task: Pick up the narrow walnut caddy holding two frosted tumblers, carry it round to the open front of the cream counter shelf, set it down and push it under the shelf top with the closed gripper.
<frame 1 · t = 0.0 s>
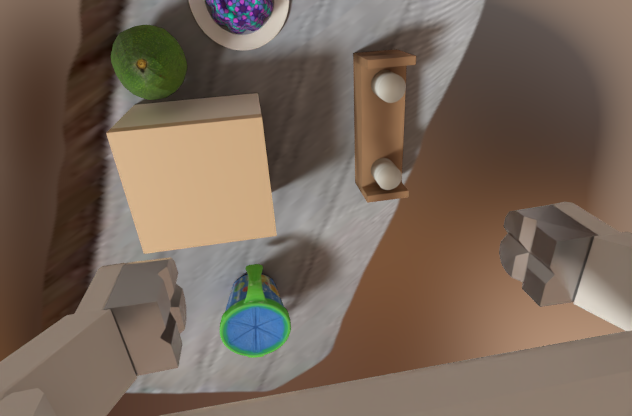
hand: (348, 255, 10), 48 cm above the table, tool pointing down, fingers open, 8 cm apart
caddy: (374, 120, 59), on the table
avocado: (158, 57, 51), on the table
counter: (209, 152, 57), on the table
snack cup: (254, 287, 69), on the table
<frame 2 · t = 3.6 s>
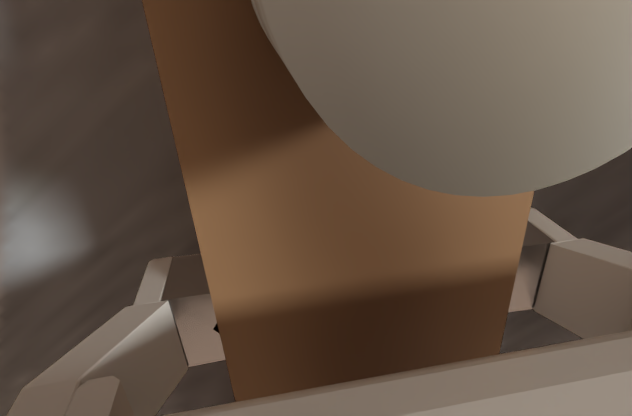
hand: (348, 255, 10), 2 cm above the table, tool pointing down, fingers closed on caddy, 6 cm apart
caddy: (333, 217, 12), on the table, touching gripper
when the fingers open (3 cm above the table, at t = 8.3 s): caddy drops 1 cm, on the table.
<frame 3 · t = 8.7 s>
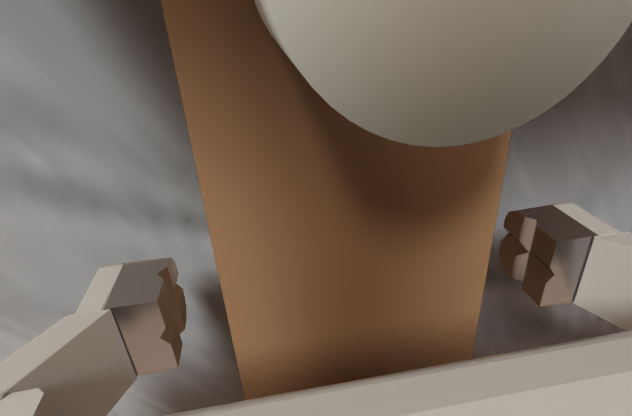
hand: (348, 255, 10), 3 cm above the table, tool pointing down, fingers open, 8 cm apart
caddy: (327, 200, 12), on the table
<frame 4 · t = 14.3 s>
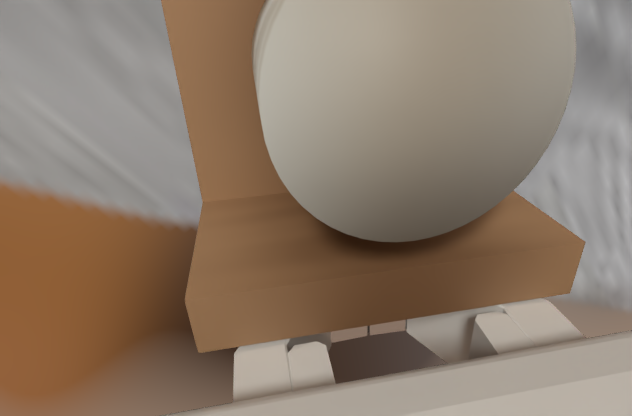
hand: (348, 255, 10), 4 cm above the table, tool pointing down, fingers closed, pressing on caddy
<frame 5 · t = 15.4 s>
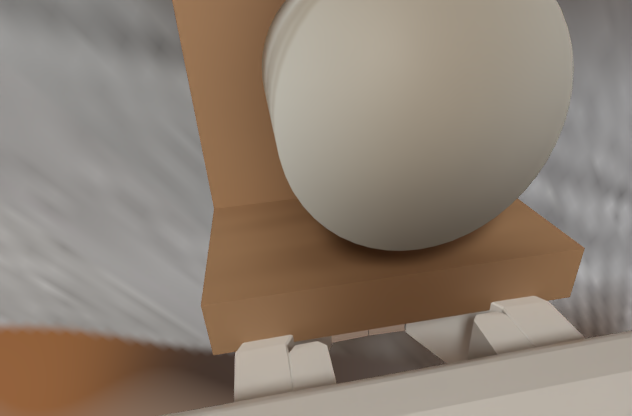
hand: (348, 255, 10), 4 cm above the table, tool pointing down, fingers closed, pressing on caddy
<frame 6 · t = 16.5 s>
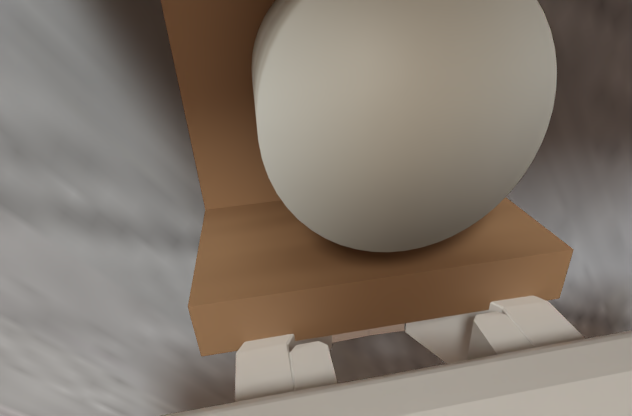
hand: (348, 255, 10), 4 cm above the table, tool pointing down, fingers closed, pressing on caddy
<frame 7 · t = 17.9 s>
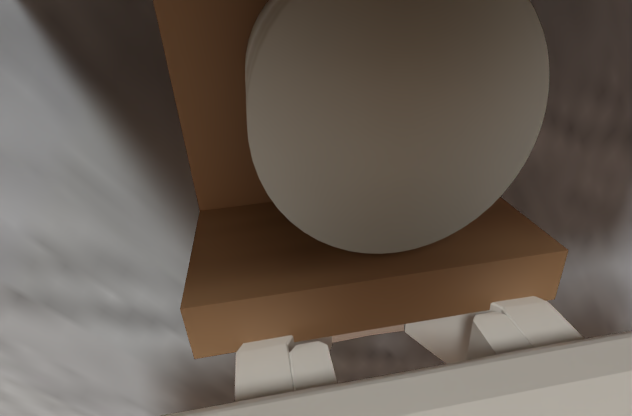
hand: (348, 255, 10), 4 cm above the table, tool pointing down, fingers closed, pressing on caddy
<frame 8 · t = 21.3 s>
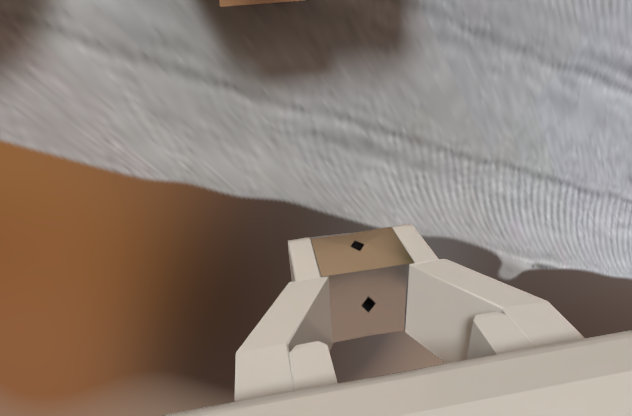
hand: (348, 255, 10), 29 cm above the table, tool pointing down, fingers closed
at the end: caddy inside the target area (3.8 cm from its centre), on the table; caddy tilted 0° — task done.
